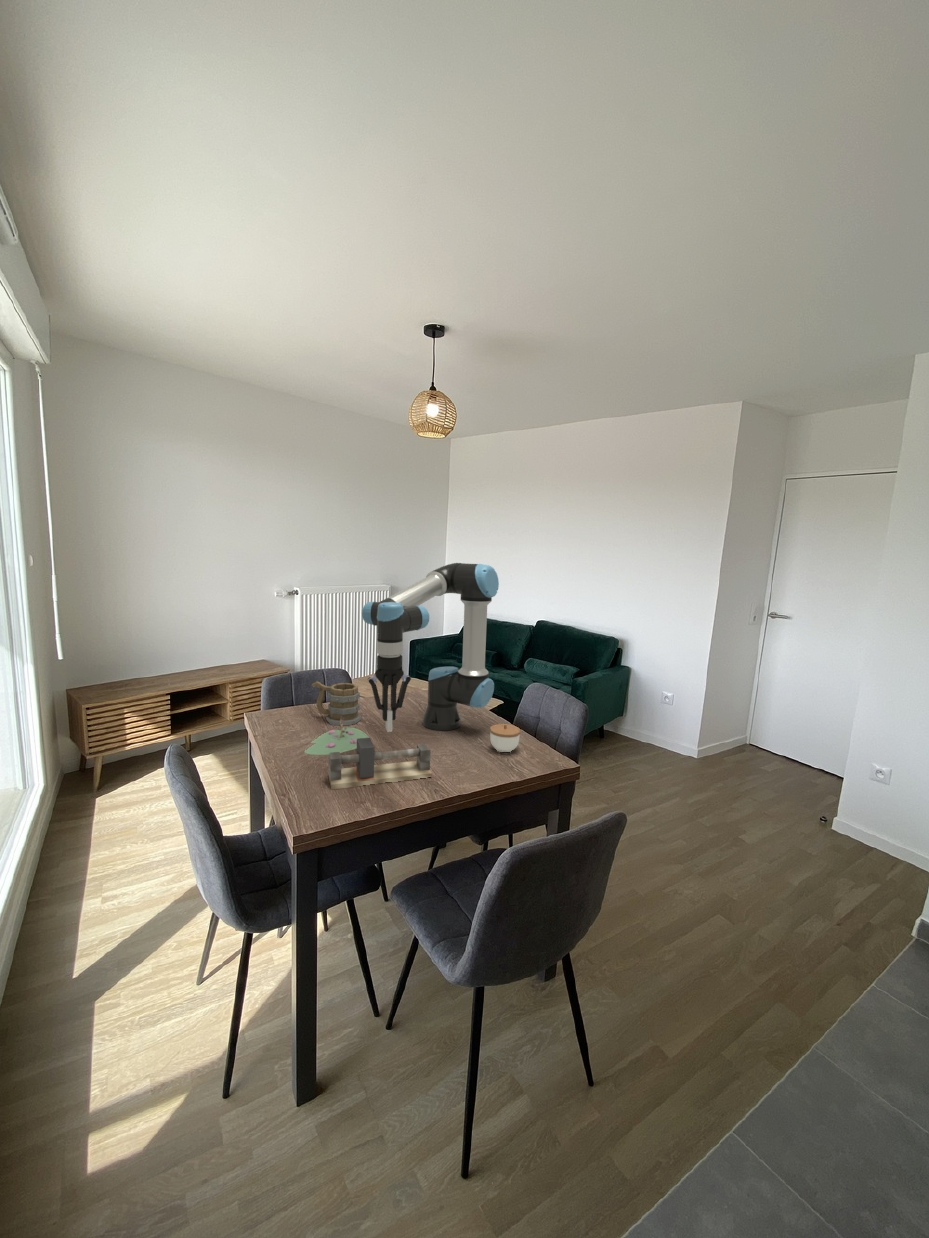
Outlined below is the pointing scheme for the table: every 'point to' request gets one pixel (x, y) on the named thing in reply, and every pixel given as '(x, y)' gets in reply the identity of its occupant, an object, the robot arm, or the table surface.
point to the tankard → (340, 703)
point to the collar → (365, 757)
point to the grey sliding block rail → (380, 768)
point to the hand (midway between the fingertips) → (388, 730)
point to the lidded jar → (504, 737)
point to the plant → (336, 741)
